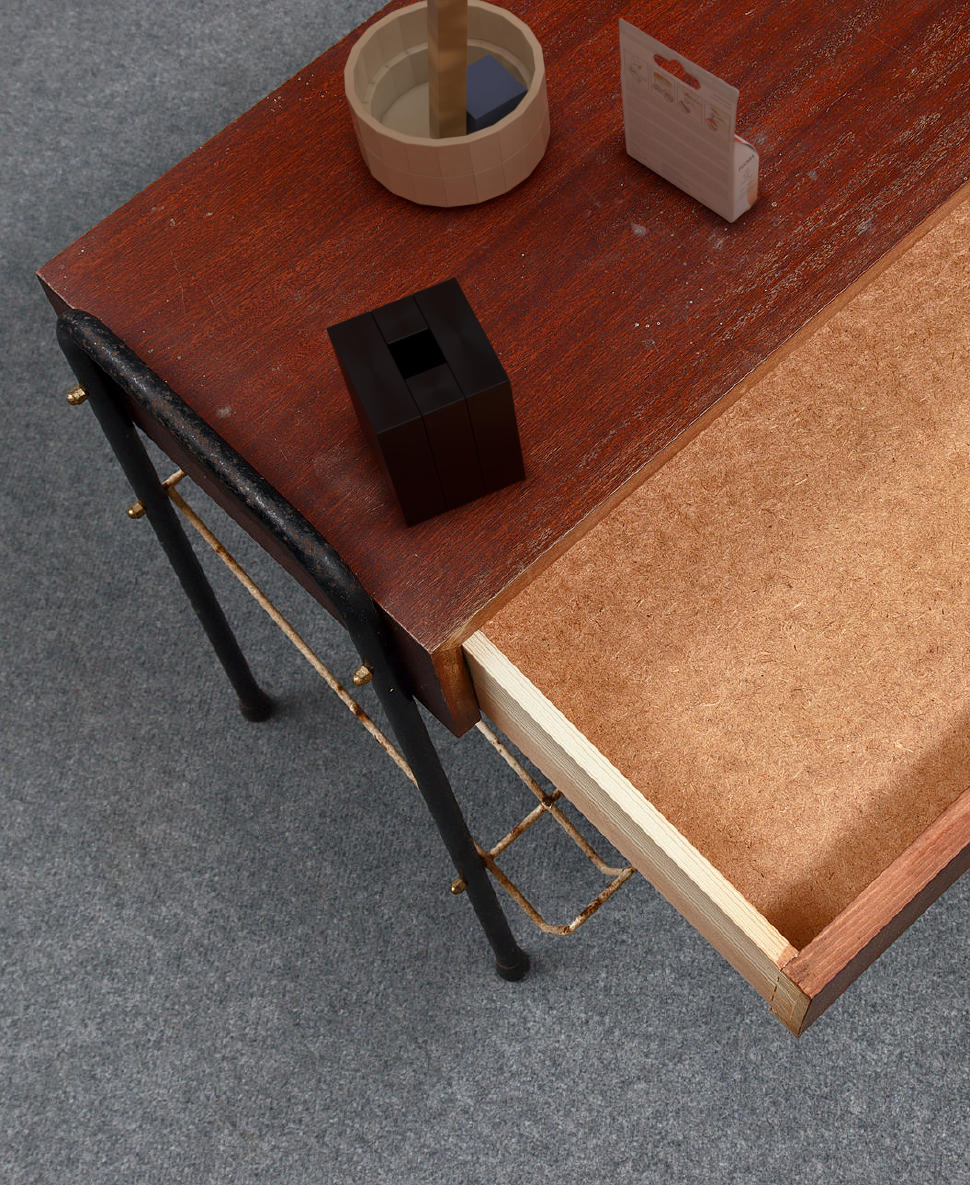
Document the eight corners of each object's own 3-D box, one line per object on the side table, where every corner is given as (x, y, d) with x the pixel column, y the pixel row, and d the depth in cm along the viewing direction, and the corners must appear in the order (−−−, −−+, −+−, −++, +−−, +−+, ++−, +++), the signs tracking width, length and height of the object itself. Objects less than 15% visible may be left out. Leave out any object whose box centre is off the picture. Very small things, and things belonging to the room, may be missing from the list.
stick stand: (407, 529, 79) (376, 434, 70) (361, 429, 82) (325, 327, 73) (526, 478, 80) (510, 379, 71) (476, 382, 83) (455, 276, 74)
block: (481, 165, 90) (475, 119, 86) (445, 129, 91) (438, 82, 87) (530, 136, 91) (527, 89, 87) (494, 101, 92) (489, 53, 88)
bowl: (403, 239, 88) (387, 173, 83) (335, 109, 93) (316, 38, 88) (581, 171, 90) (576, 101, 85) (504, 46, 95) (496, -27, 90)
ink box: (647, 131, 91) (647, -13, 81) (757, 203, 88) (771, 63, 78) (618, 157, 90) (614, 15, 80) (728, 230, 87) (739, 92, 77)
